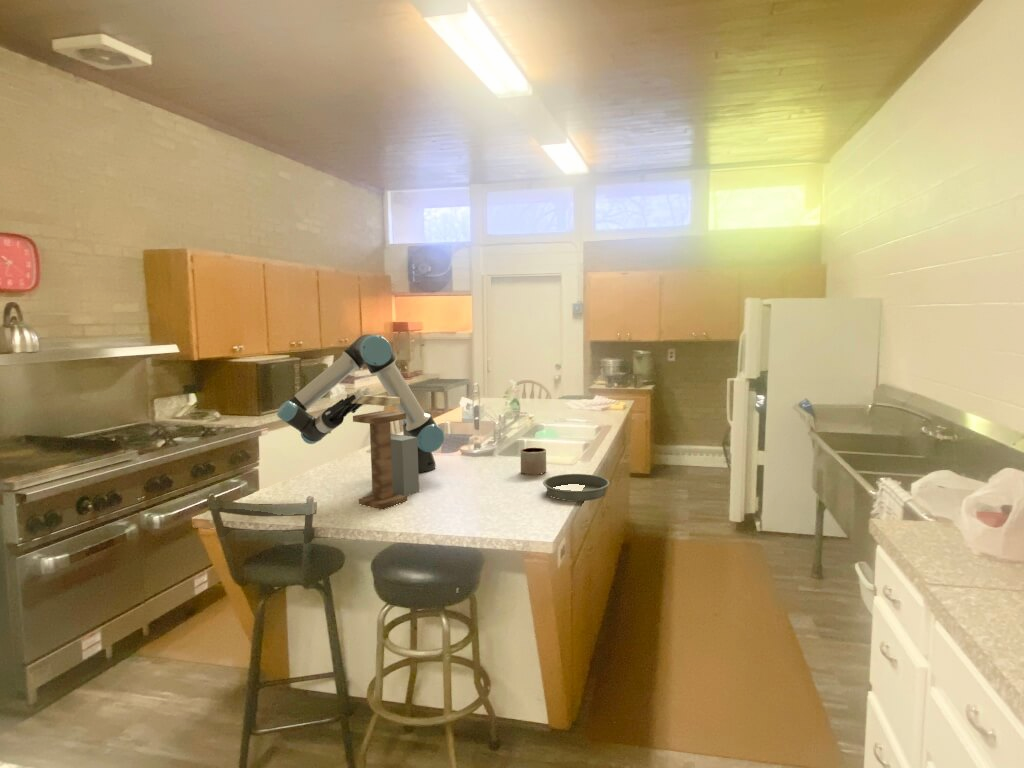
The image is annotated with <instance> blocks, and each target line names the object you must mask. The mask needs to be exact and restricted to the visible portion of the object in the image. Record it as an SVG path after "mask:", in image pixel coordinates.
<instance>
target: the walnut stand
mask: <svg viewBox="0 0 1024 768" xmlns="http://www.w3.org/2000/svg"><path fill="white" fill-rule="evenodd" d="M404 419H406V413H400V412H399V411H398V412H397V411H388V410H380V411H373V412H369V413H363V414H362V413H361V414H355V415H352V422H353V423H354V422H355V423H361V424H362V423H363V424H369V435H370V436H369V439H370V441H371V445H370V463H371V465H372V469H371V488H373V490H372V494H369V495H368V496H364V497H361V498H358V505H359V504H361V505H360V506H363V505H365V506H364V507H368V506H370V507H369V508H372V507H374V508H373V509H377V508H378V509H377V510H381V509H383V510H386V509H388V507H389V508H392V507H395V506H397V505H396V504H398V505H400V504H399V503H401V504H403V502H404V503H406V501H407V502H408V495H407V496H404V495H400V494H395V493H393V483H392V458H391V434H392V433H391V423H392V422H396V421H402V420H404ZM394 505H395V506H394ZM391 506H392V507H391ZM385 508H386V509H385Z"/></svg>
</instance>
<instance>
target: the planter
mask: <svg viewBox="0 0 1024 768" xmlns="http://www.w3.org/2000/svg"><path fill="white" fill-rule="evenodd" d="M520 472H521V473H522V474H524V473H525V474H524V475H527V474H539V475H542V474H541V473H543V474H545V473H546V472H547V450H546V448H543V447H535V446H534V447H533V446H532V447H531V446H530V447H524V448H521V449H520ZM544 472H545V473H544Z"/></svg>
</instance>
